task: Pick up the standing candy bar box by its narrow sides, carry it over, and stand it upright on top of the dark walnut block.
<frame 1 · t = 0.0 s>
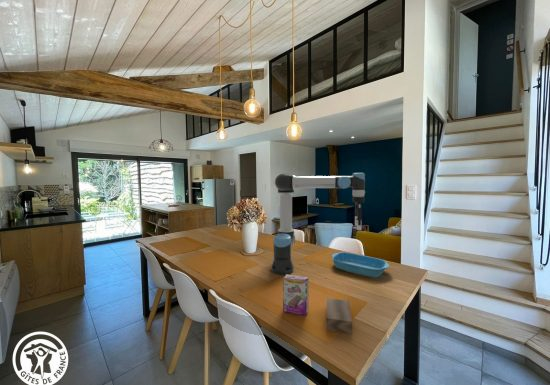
hand: (358, 227, 156), 28 cm above the table, fingers open, 13 cm apart
candy bar box: (295, 312, 108), on the table
casserole dish: (358, 270, 156), on the table
walnut block: (338, 319, 101), on the table
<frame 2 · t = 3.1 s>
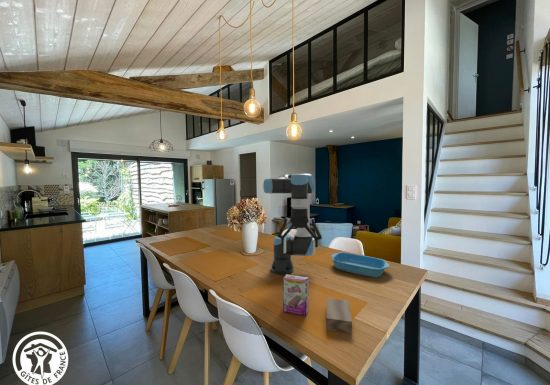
hand: (299, 253, 108), 27 cm above the table, fingers open, 13 cm apart
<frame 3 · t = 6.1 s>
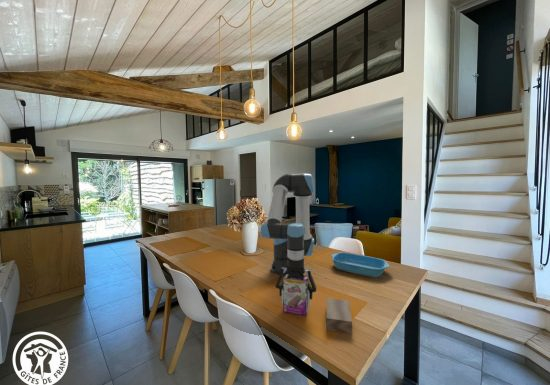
hand: (295, 303, 108), 4 cm above the table, fingers closed on candy bar box, 11 cm apart
candy bar box: (295, 312, 108), on the table, touching gripper
everything else where it was.
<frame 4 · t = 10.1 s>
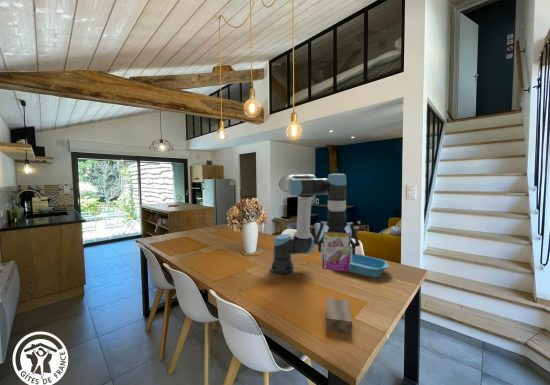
hand: (336, 260, 100), 26 cm above the table, fingers closed on candy bar box, 11 cm apart
candy bar box: (336, 269, 100), point 23 cm above the table, touching gripper
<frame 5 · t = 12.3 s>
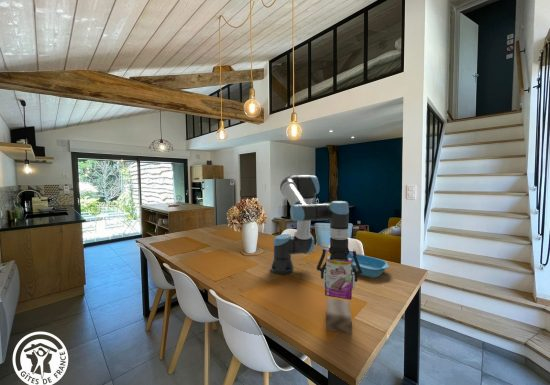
hand: (338, 287, 100), 15 cm above the table, fingers closed on candy bar box, 11 cm apart
candy bar box: (338, 296, 100), point 11 cm above the table, touching gripper
when the fingers open (10 cm above the table, at t = 14.3 s): candy bar box drops 1 cm, resting on walnut block.
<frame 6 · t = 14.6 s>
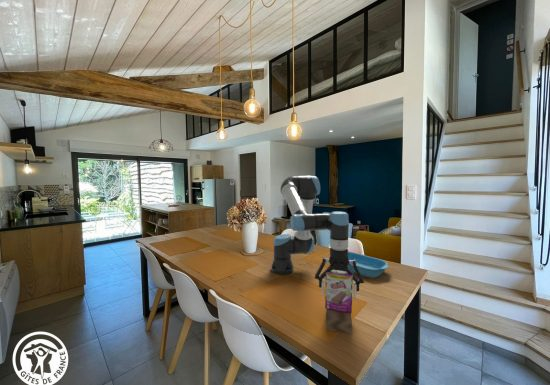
hand: (338, 296, 101), 11 cm above the table, fingers open, 13 cm apart
candy bar box: (338, 309, 101), point 5 cm above the table, touching walnut block
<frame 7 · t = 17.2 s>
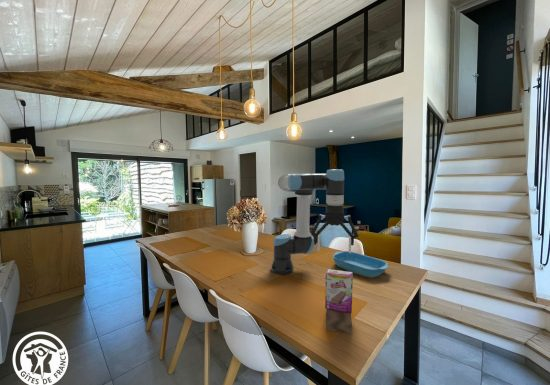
hand: (333, 251, 104), 29 cm above the table, fingers open, 13 cm apart
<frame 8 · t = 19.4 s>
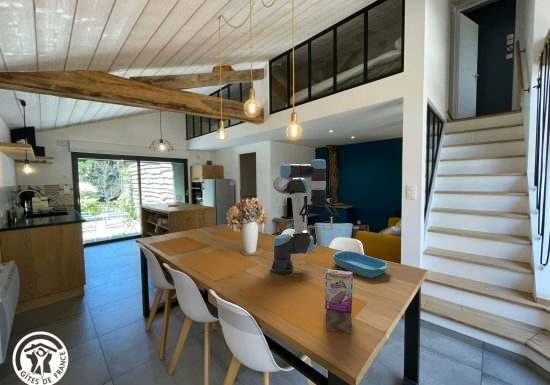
hand: (318, 228, 124), 35 cm above the table, fingers open, 13 cm apart
at the end: candy bar box inside the target area on the walnut block (0.2 cm from its centre), point 4.8 cm above the walnut block's base; candy bar box tilted 0°; the gripper is holding nothing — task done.
